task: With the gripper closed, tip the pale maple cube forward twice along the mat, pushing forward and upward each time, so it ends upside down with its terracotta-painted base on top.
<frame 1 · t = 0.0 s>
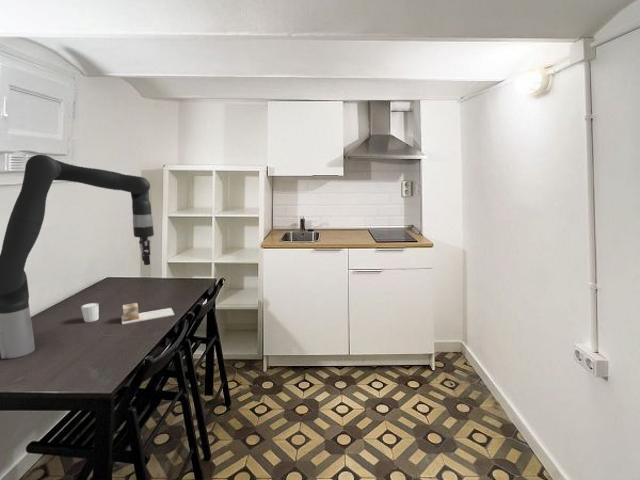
hand: (146, 262, 149), 29 cm above the table, fingers open, 8 cm apart
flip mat: (148, 316, 167), on the table
maple cube: (131, 318, 163), resting on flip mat
white cup: (91, 320, 162), on the table
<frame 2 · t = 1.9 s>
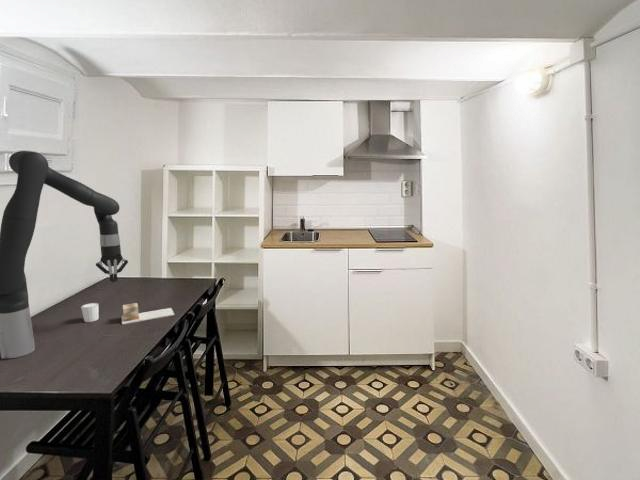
hand: (114, 281, 157), 19 cm above the table, fingers closed
nothing on the table moved.
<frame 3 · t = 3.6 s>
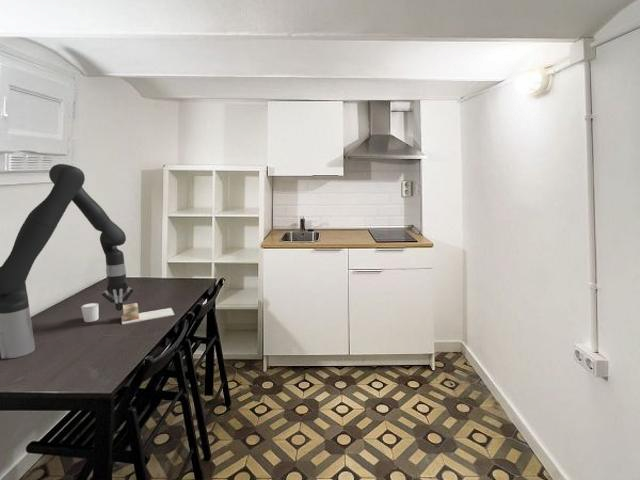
hand: (119, 310, 160), 5 cm above the table, fingers closed
maple cube: (131, 318, 163), resting on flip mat, touching gripper
everything else where it was.
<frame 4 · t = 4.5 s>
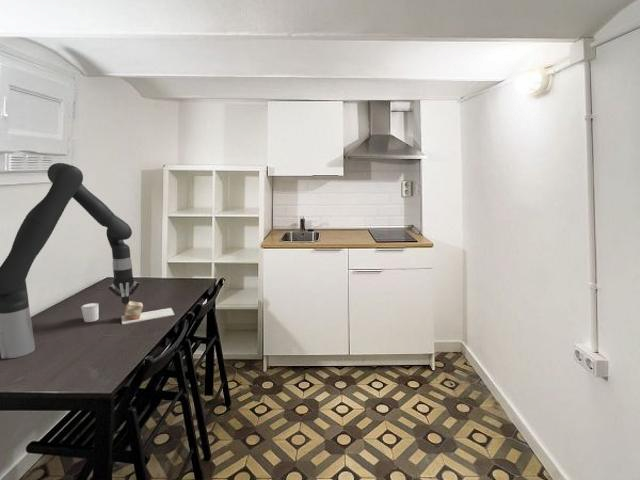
hand: (125, 303, 161), 8 cm above the table, fingers closed
maple cube: (131, 316, 163), point 2 cm above the table, tilted 20°, touching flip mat, gripper
everything else where it was.
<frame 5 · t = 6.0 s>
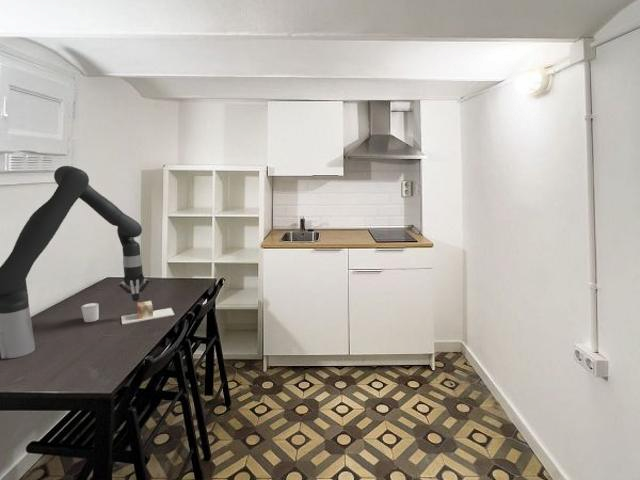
hand: (135, 300, 163), 8 cm above the table, fingers closed
maple cube: (138, 310, 164), point 3 cm above the table, tilted 90°, touching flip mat
everything else where it was.
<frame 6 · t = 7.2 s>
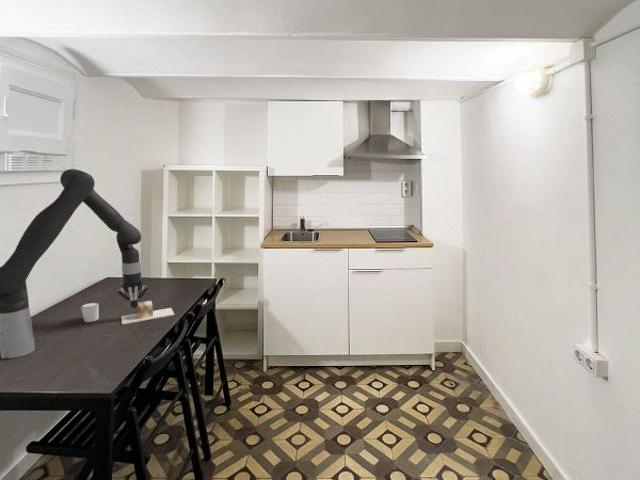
hand: (134, 307, 163), 5 cm above the table, fingers closed
maple cube: (138, 310, 164), point 4 cm above the table, tilted 91°, touching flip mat, gripper
everything else where it was.
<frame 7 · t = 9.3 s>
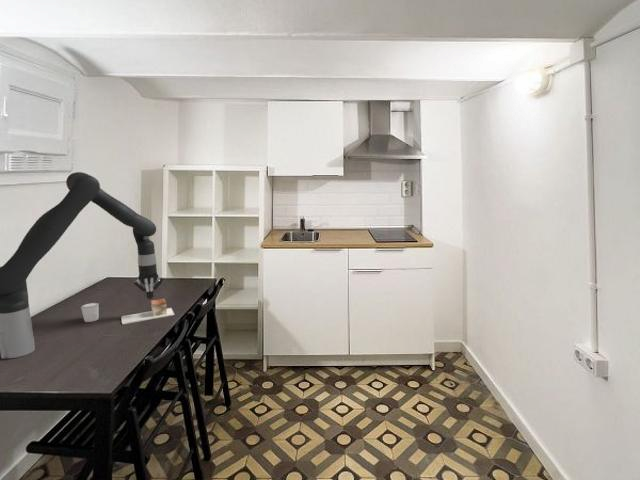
hand: (150, 298, 166), 9 cm above the table, fingers closed
maple cube: (158, 301, 168), point 6 cm above the table, tilted 180°, touching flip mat
everything else where it was.
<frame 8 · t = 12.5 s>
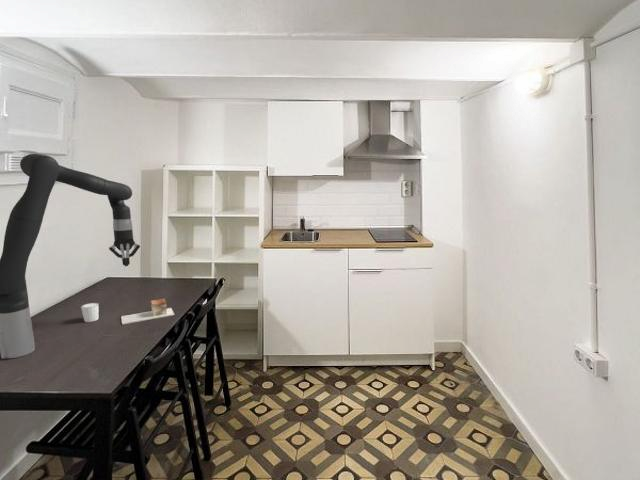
hand: (126, 265, 161), 25 cm above the table, fingers closed
nothing on the table moved.
at the end: maple cube tilted 180°; maple cube inside the target area (0.5 cm from its centre), point 6.5 cm above the table; the gripper is holding nothing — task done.
